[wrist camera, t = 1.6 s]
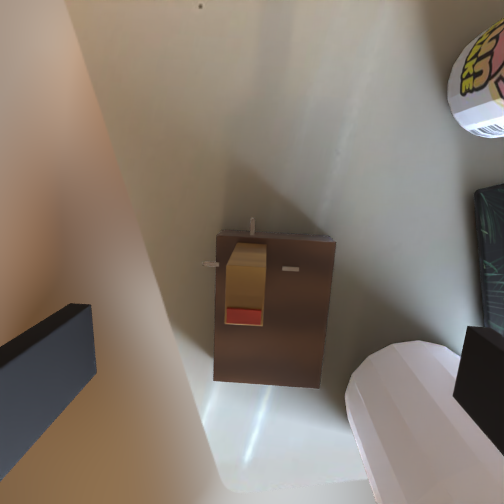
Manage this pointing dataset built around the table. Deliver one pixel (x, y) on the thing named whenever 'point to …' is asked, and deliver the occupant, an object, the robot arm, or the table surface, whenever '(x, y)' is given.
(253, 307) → the tan wooden block
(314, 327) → the plate
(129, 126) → the table surface
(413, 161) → the table surface
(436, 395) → the container
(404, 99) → the table surface
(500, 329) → the smartphone
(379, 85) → the table surface
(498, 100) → the beverage can
